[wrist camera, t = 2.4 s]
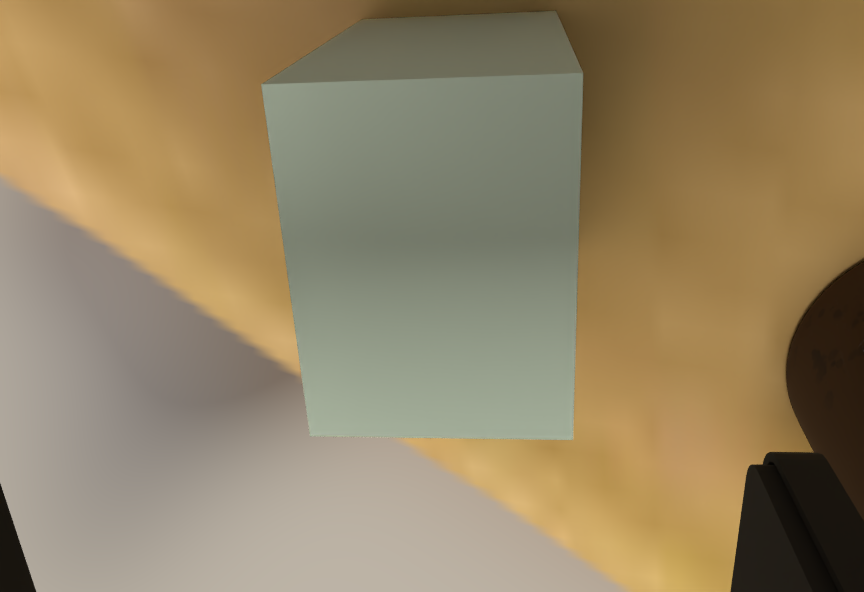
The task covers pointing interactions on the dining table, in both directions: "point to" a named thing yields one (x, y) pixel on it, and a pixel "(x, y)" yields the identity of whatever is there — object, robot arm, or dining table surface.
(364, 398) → the grey-green rectangular block
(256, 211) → the dining table surface
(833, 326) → the olive oil
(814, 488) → the robot arm
